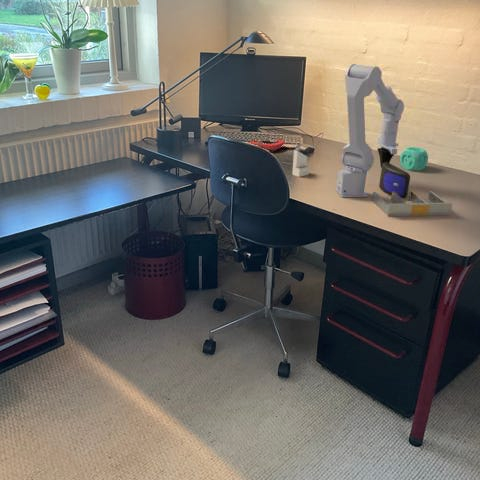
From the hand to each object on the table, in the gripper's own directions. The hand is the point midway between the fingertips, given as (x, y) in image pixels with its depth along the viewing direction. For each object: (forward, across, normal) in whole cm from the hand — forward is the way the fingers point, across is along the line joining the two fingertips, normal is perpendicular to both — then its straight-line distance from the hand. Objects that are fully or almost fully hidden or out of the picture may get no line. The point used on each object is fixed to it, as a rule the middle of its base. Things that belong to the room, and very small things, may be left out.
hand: (383, 167), depth 200 cm
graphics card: (+6, +53, +44) cm, 69 cm away
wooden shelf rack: (+6, -26, 0) cm, 27 cm away
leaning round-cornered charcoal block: (+6, -11, 0) cm, 13 cm away
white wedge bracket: (+6, +11, +29) cm, 32 cm away
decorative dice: (+6, +18, -20) cm, 27 cm away
